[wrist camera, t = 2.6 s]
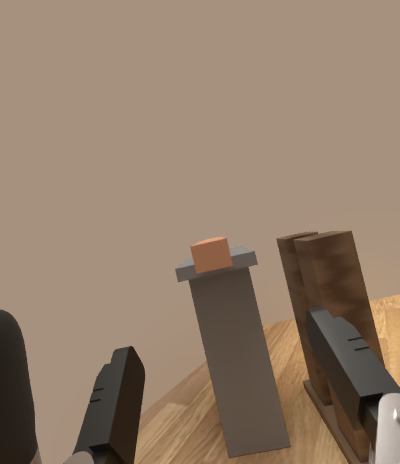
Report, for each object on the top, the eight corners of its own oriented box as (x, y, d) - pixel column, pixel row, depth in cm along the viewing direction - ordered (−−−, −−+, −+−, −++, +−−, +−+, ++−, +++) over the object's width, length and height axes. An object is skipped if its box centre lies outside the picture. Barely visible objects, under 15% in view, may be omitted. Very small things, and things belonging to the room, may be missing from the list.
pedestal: (224, 483, 36) (175, 268, 37) (221, 407, 52) (187, 258, 53) (306, 469, 36) (254, 251, 36) (277, 396, 52) (242, 246, 52)
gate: (365, 490, 31) (305, 242, 32) (304, 387, 52) (269, 239, 53) (430, 480, 31) (368, 228, 32) (342, 380, 52) (306, 231, 53)
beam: (232, 265, 27) (226, 238, 27) (196, 273, 27) (190, 246, 27) (223, 250, 52) (220, 236, 53) (205, 254, 53) (202, 240, 53)
